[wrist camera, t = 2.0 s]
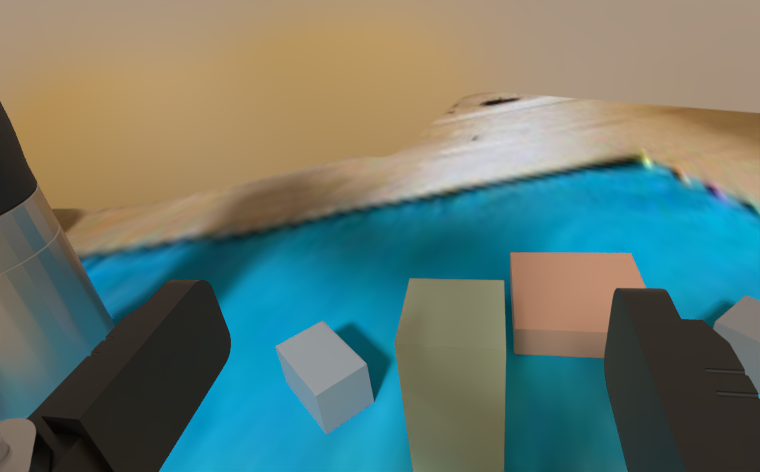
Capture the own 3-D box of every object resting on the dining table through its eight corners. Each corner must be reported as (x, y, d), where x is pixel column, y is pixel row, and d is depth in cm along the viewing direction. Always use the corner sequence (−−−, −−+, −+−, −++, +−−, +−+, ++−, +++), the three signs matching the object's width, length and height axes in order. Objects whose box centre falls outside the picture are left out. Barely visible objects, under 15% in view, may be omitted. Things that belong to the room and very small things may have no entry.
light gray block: (287, 384, 37) (275, 346, 35) (331, 358, 39) (322, 320, 37) (326, 436, 33) (315, 396, 31) (374, 403, 35) (366, 363, 32)
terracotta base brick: (514, 358, 37) (514, 328, 35) (509, 278, 45) (510, 252, 44) (658, 365, 35) (665, 334, 33) (625, 281, 43) (630, 253, 41)
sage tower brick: (416, 492, 28) (394, 343, 22) (425, 420, 33) (409, 278, 26) (503, 502, 27) (506, 349, 21) (501, 427, 31) (503, 280, 25)
